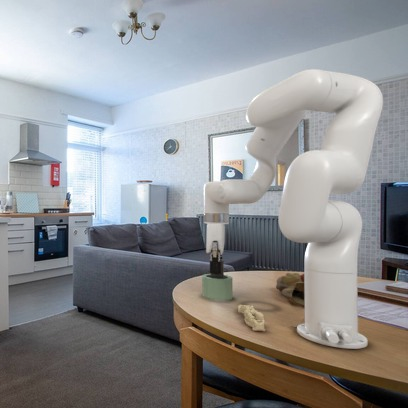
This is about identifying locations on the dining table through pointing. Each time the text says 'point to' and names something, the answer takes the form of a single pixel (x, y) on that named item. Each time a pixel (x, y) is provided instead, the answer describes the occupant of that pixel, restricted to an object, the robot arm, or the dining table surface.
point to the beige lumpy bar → (252, 317)
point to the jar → (217, 287)
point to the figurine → (292, 287)
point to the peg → (221, 276)
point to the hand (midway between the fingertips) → (216, 270)
